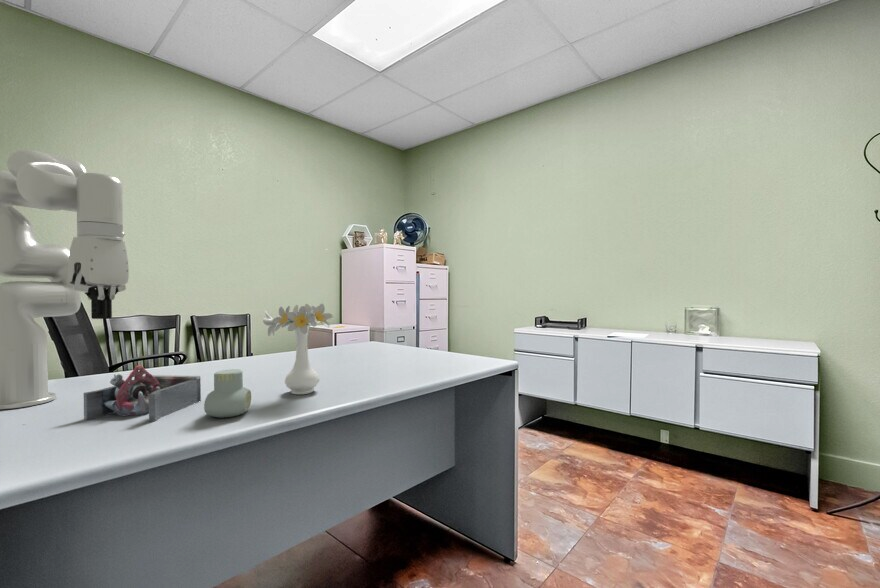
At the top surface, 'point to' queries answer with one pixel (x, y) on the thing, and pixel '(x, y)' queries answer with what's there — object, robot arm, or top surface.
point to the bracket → (150, 397)
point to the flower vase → (300, 343)
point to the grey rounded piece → (228, 395)
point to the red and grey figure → (132, 392)
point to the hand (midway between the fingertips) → (101, 318)
